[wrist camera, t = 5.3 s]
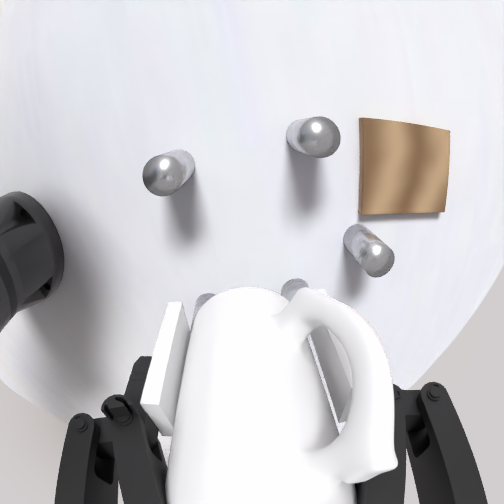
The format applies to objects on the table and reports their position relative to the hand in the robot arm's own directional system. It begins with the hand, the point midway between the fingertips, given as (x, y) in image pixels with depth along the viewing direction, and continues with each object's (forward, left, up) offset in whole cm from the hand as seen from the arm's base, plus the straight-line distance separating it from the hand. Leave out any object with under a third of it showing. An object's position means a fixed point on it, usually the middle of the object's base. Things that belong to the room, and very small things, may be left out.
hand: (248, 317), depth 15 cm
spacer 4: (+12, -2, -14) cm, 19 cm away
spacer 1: (-6, +7, -14) cm, 17 cm away
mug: (+1, 0, -1) cm, 1 cm away
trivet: (+18, +6, -14) cm, 24 cm away
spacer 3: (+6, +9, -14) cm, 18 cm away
